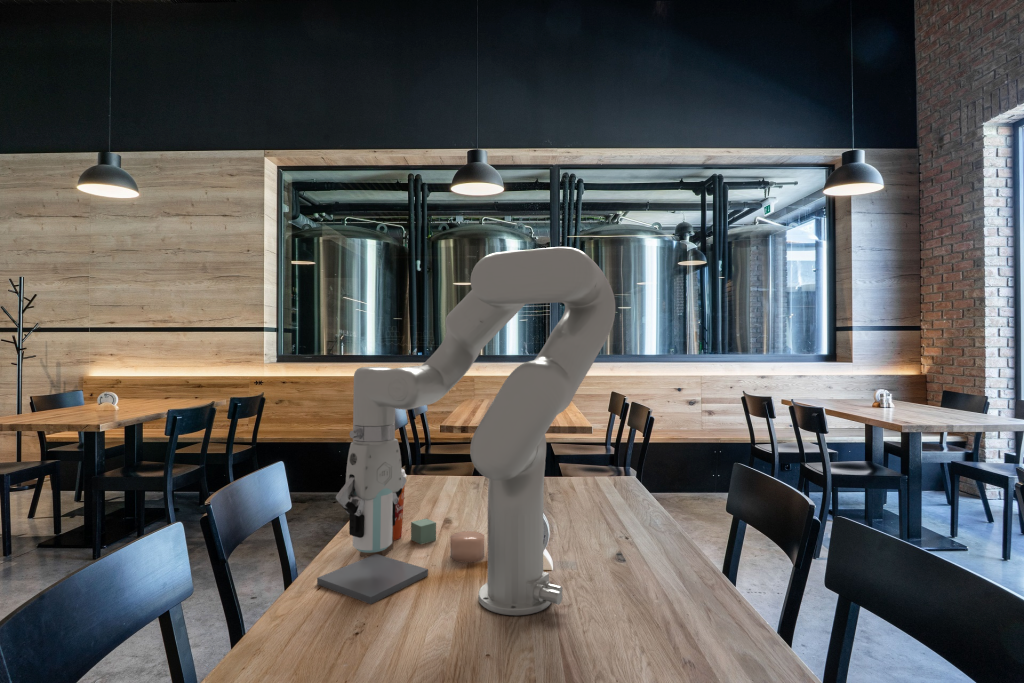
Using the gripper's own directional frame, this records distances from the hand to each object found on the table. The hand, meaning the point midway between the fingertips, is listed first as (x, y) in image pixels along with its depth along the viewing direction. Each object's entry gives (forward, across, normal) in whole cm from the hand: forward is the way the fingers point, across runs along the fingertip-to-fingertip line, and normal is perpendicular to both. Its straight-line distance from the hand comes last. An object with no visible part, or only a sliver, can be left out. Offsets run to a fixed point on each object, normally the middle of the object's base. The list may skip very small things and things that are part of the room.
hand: (372, 529), depth 102 cm
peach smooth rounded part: (+9, +19, -7) cm, 22 cm away
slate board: (+9, 0, 0) cm, 9 cm away
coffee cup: (+10, +18, +15) cm, 25 cm away
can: (+3, 0, 0) cm, 3 cm away
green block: (+9, +21, +7) cm, 24 cm away
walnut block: (+9, +10, +10) cm, 17 cm away
